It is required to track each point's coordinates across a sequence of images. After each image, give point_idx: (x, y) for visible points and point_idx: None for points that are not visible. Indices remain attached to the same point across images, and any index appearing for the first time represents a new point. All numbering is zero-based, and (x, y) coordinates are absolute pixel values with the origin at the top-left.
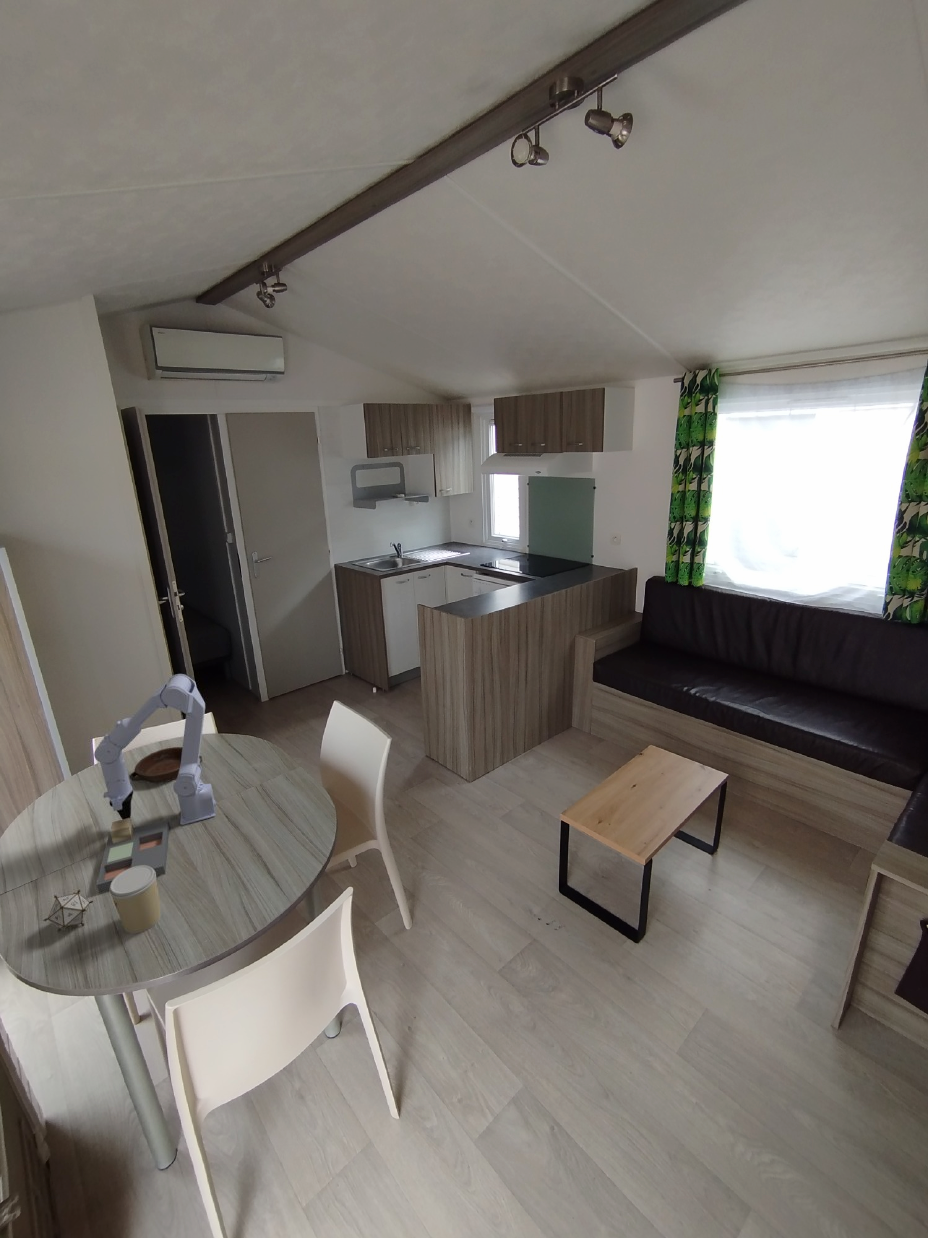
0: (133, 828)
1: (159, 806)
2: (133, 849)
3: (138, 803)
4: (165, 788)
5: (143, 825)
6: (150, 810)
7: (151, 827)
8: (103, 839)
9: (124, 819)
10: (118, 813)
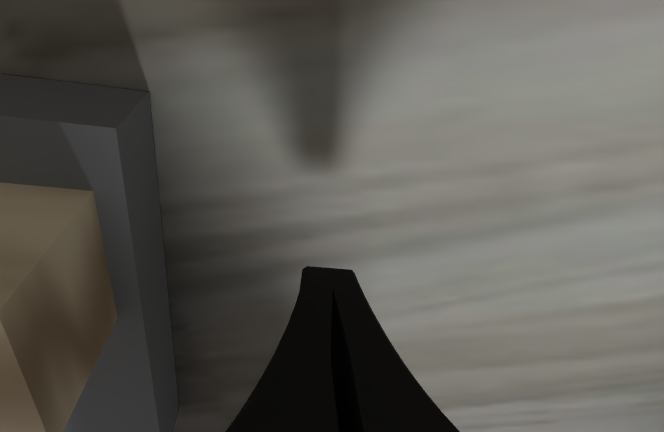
0: (133, 317)
1: (450, 374)
2: None
3: (614, 282)
4: (635, 399)
5: (146, 370)
6: (444, 338)
7: (95, 404)
8: (229, 20)
9: (24, 415)
10: (290, 328)
